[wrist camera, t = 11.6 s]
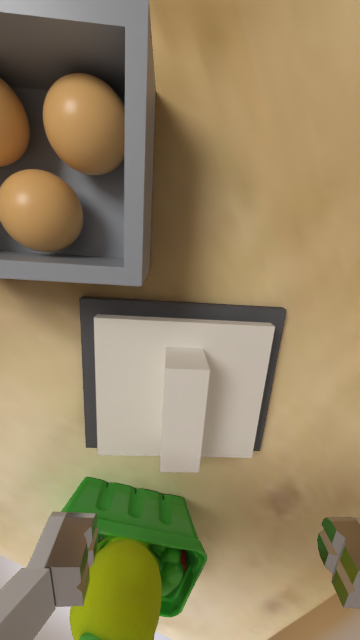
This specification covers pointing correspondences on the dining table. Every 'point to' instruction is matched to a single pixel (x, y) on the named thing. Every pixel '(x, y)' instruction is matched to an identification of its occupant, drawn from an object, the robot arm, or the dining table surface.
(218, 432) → the lid
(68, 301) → the dining table surface
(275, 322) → the mat
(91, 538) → the robot arm
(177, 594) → the fruit basket
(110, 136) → the crate
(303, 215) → the dining table surface
